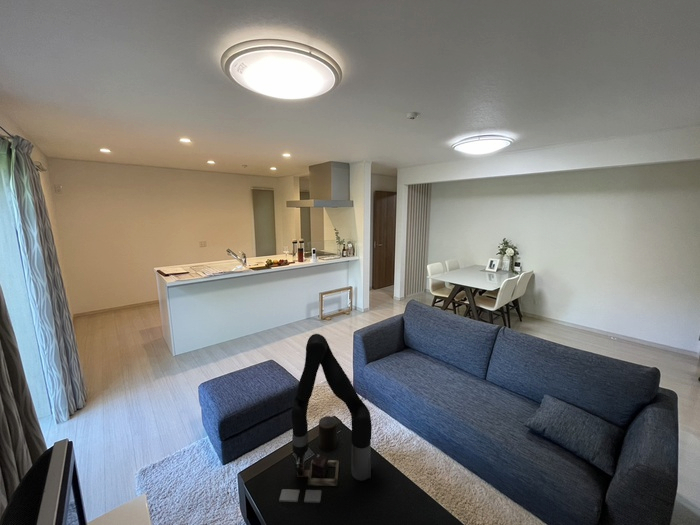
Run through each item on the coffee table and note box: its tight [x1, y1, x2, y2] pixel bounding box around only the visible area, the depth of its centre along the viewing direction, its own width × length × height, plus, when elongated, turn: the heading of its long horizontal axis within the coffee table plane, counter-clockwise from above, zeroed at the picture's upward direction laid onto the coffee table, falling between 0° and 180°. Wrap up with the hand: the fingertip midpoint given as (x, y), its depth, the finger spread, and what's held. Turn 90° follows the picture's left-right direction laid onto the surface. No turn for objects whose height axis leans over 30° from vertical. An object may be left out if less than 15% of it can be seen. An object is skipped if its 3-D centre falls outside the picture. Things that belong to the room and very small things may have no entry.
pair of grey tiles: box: [278, 488, 322, 504], centre depth 128 cm, size 18×5×1 cm, turn 88°
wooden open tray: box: [296, 459, 340, 487], centre depth 138 cm, size 20×11×6 cm, turn 88°
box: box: [312, 454, 329, 479], centre depth 139 cm, size 6×6×7 cm
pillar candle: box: [318, 415, 338, 452], centre depth 156 cm, size 10×10×15 cm
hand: (300, 471), depth 139 cm, fingers closed on wooden open tray, 3 cm apart
